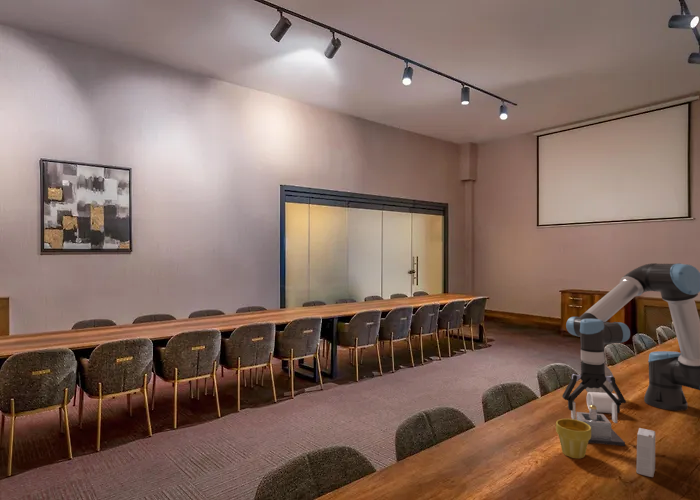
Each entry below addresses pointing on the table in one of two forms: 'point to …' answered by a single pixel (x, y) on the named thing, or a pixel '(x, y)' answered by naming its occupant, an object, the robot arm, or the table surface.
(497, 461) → the table surface
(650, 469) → the skincare box
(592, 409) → the keeper
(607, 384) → the vase
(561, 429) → the plant pot
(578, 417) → the link
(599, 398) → the mug
